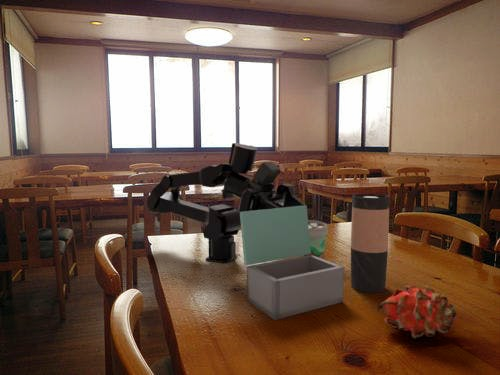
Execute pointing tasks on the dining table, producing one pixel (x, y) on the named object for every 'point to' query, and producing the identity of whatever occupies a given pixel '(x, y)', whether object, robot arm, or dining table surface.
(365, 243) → the travel mug
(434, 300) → the dragon fruit
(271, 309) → the grey rectangular box
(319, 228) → the food container
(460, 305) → the dining table surface
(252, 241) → the mint green lid
